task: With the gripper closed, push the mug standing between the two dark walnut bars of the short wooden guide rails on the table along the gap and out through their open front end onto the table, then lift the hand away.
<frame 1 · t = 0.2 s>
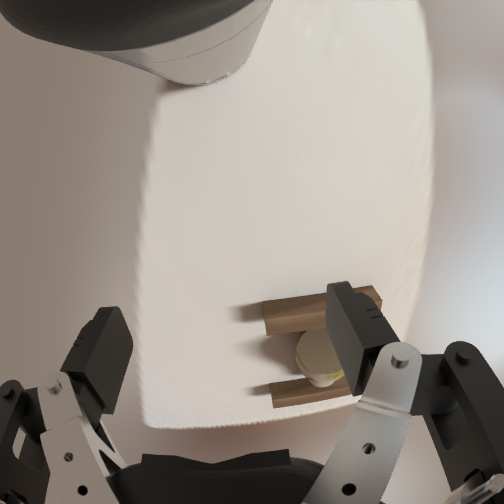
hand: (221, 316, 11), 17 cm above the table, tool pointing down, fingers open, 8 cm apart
mug: (321, 345, 37), on the table
wooden guide rails: (316, 347, 37), on the table
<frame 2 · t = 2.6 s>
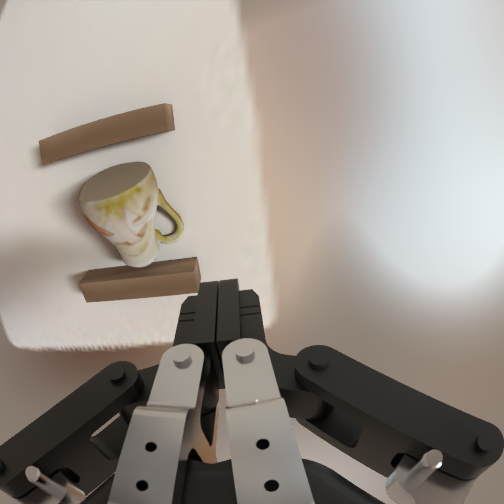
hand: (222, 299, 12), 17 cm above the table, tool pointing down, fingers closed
mug: (140, 208, 28), on the table
wooden guide rails: (123, 206, 27), on the table
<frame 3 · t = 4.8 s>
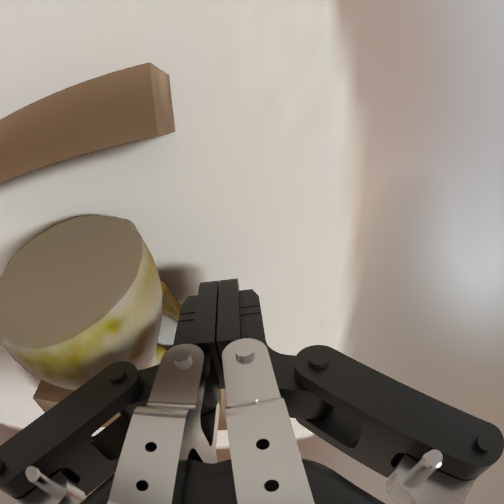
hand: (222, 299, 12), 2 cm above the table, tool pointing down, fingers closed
mug: (125, 298, 14), on the table, touching gripper
wooden guide rails: (81, 286, 13), on the table
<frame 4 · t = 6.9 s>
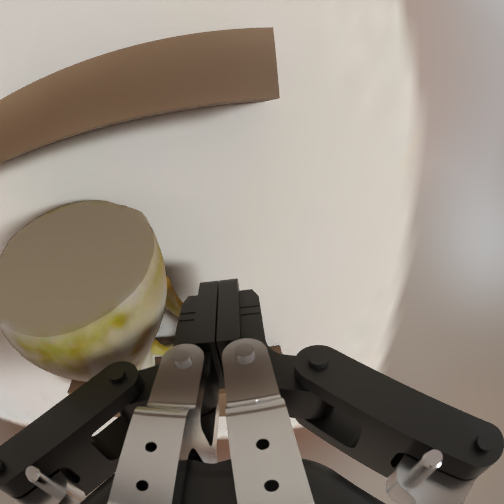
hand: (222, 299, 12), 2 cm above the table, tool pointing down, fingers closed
mug: (123, 287, 14), on the table, touching gripper
wooden guide rails: (139, 262, 13), on the table
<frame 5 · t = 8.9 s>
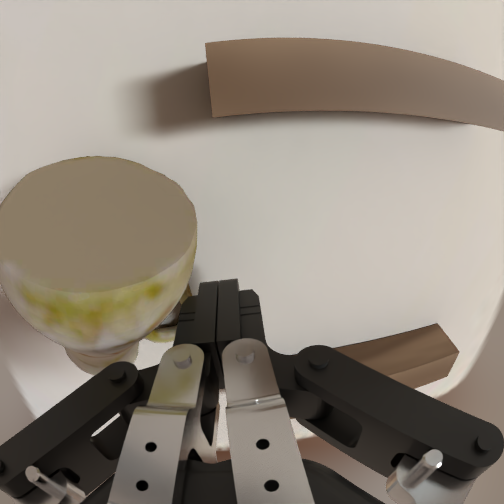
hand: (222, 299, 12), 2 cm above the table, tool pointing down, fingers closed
mug: (125, 259, 13), on the table
wooden guide rails: (367, 248, 14), on the table
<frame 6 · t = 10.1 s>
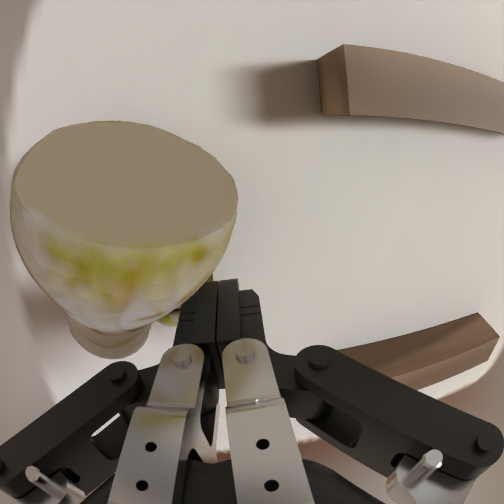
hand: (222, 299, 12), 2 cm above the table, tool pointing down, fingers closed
mug: (142, 235, 13), on the table, touching gripper
wooden guide rails: (434, 242, 14), on the table
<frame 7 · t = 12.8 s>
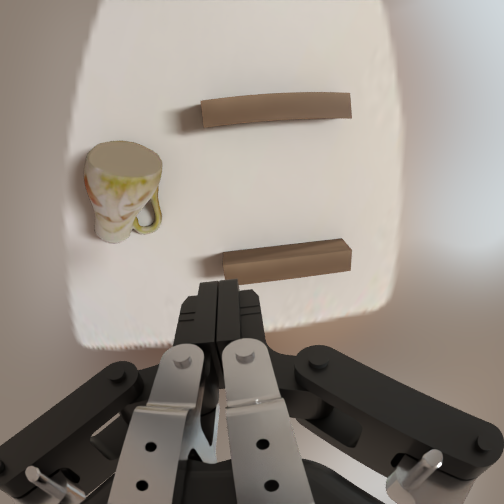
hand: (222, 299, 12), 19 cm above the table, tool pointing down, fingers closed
mug: (131, 190, 28), on the table
wooden guide rails: (280, 185, 29), on the table
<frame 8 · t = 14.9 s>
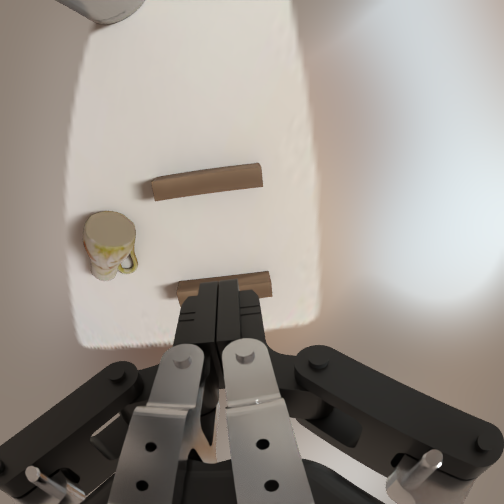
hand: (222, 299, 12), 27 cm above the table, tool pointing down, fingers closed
mug: (116, 242, 39), on the table
wooden guide rails: (216, 234, 40), on the table
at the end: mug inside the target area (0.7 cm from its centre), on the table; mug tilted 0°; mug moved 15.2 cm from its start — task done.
